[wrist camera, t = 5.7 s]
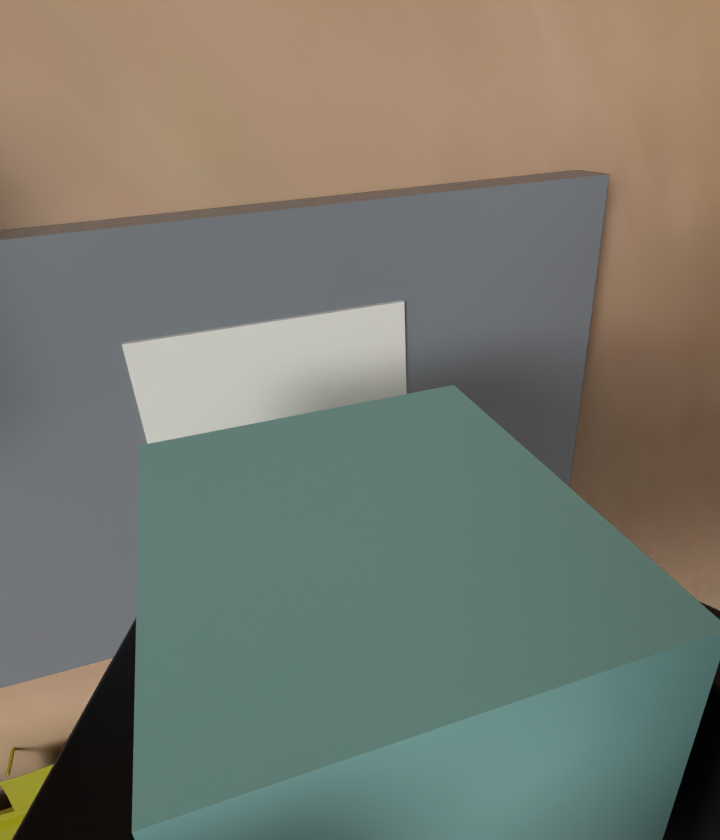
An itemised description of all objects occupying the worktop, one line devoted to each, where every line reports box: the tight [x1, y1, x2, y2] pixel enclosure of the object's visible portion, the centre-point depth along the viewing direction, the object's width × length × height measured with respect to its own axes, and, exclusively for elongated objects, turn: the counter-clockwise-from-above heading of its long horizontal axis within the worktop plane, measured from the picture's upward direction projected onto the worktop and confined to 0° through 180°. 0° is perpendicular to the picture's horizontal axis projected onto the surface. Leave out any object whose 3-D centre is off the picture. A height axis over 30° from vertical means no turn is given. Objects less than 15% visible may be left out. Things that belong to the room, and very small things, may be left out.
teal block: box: [132, 385, 720, 840], centre depth 7 cm, size 4×4×5 cm
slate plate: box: [0, 170, 609, 688], centre depth 13 cm, size 14×9×1 cm, turn 94°
